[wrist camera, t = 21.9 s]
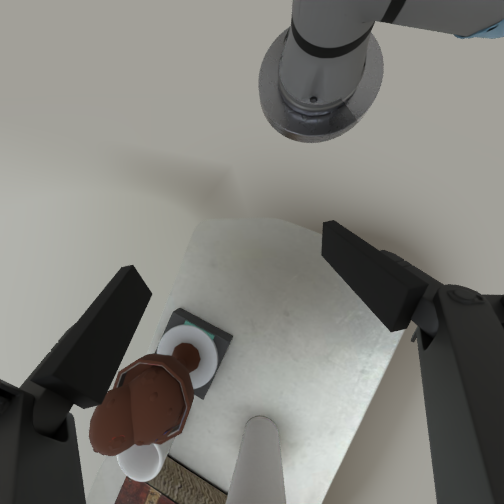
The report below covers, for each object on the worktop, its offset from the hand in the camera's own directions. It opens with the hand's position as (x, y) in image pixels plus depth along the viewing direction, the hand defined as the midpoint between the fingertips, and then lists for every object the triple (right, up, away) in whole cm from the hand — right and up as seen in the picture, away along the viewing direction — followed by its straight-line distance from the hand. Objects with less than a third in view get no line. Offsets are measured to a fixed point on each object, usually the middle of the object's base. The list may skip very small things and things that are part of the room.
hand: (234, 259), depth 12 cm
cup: (-16, -30, +24) cm, 42 cm away
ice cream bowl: (-11, -19, +20) cm, 29 cm away
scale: (-10, -19, +23) cm, 31 cm away
